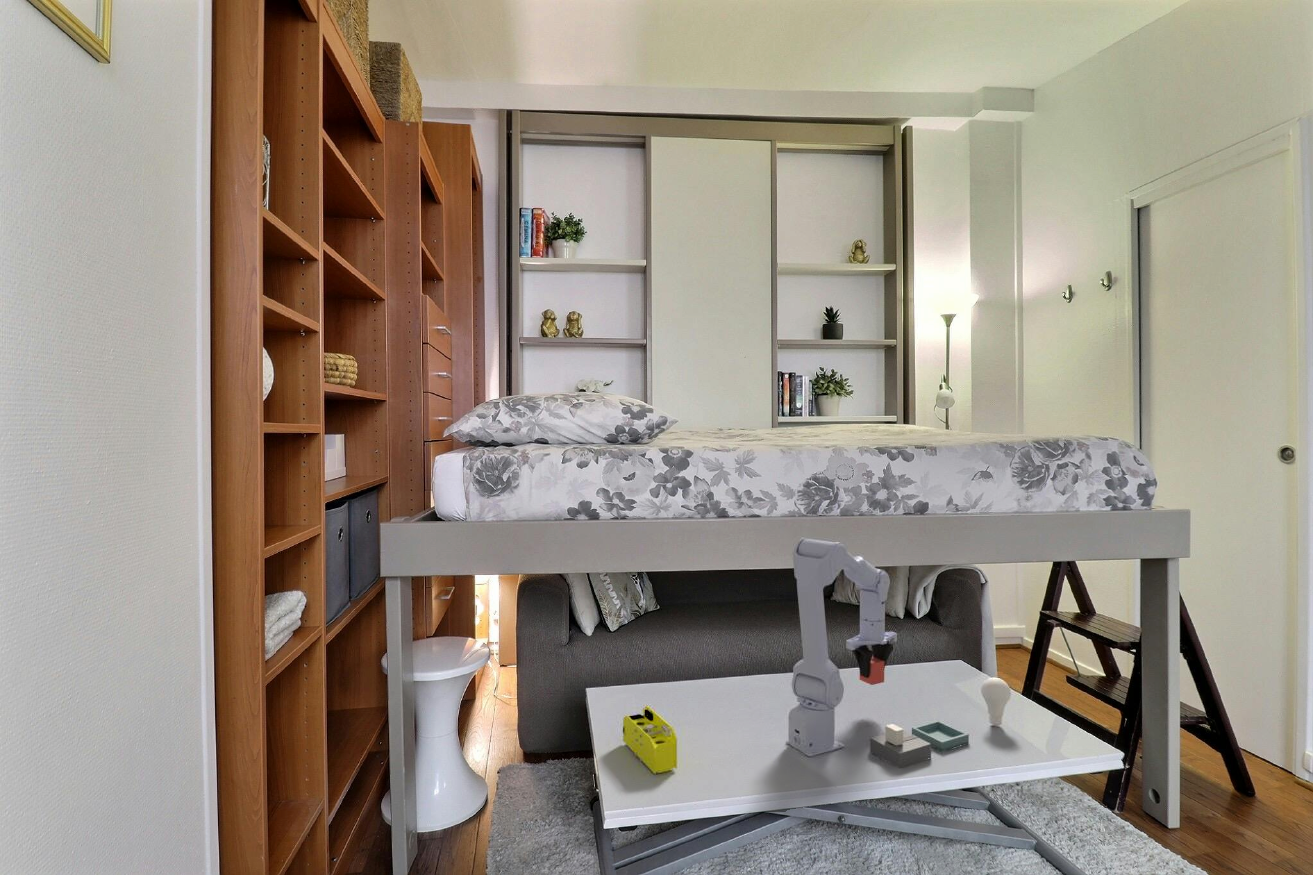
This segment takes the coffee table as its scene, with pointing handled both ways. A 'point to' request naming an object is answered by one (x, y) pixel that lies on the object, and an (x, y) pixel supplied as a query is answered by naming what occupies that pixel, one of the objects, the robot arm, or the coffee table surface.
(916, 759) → the grey flat block
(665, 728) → the yellow parts caddy
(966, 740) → the tray
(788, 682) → the coffee table surface
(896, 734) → the switch
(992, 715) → the lightbulb
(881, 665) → the block
